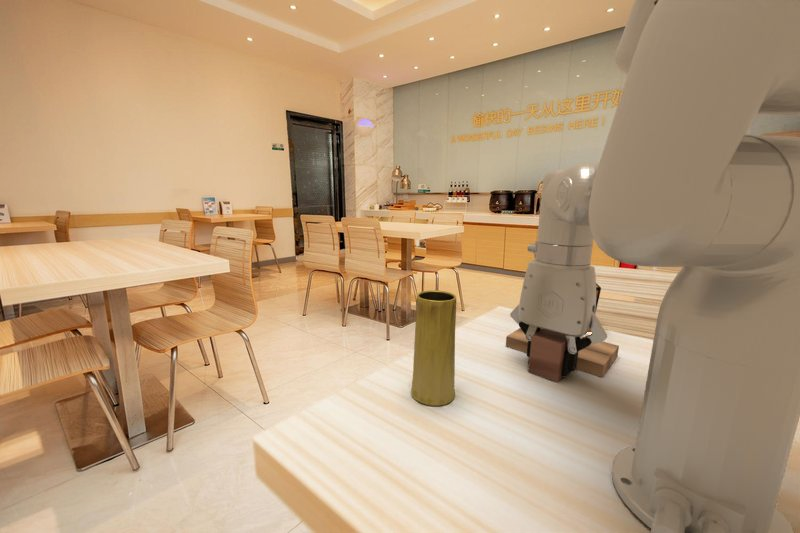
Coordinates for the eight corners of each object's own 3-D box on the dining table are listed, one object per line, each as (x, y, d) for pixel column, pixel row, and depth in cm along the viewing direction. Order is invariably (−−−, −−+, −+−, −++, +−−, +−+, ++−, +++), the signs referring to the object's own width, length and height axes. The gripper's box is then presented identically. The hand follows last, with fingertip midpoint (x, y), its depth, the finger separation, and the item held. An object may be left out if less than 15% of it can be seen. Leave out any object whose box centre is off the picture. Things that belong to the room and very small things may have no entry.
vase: (453, 409, 46) (459, 304, 43) (407, 403, 47) (409, 300, 44) (455, 385, 52) (460, 290, 49) (414, 380, 53) (417, 288, 50)
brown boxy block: (557, 382, 53) (561, 344, 51) (528, 371, 56) (531, 335, 54) (582, 356, 61) (587, 323, 60) (556, 348, 64) (559, 317, 63)
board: (602, 377, 54) (604, 364, 54) (505, 346, 65) (506, 335, 65) (617, 356, 62) (619, 345, 61) (528, 331, 72) (529, 322, 72)
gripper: (498, 250, 55) (490, 358, 59) (621, 267, 44) (602, 398, 48) (519, 246, 61) (511, 344, 65) (634, 259, 49) (616, 378, 53)
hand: (550, 366), depth 56 cm, fingers closed on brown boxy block, 4 cm apart
